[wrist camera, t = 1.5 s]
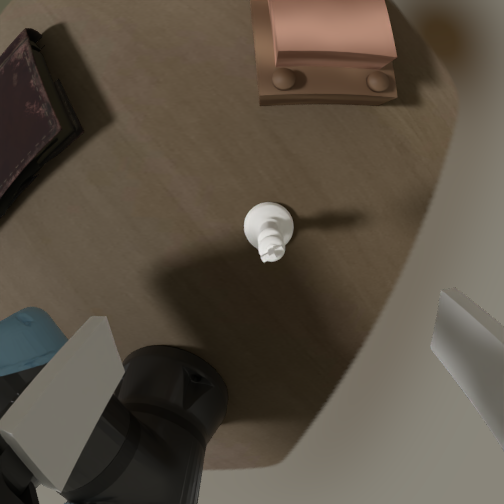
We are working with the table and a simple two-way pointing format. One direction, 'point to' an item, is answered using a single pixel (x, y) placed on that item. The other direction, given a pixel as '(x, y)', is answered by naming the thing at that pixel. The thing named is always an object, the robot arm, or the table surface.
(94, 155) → the table surface
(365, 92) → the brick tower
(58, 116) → the diary
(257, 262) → the table surface
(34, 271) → the table surface
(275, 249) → the chess piece
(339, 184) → the table surface
